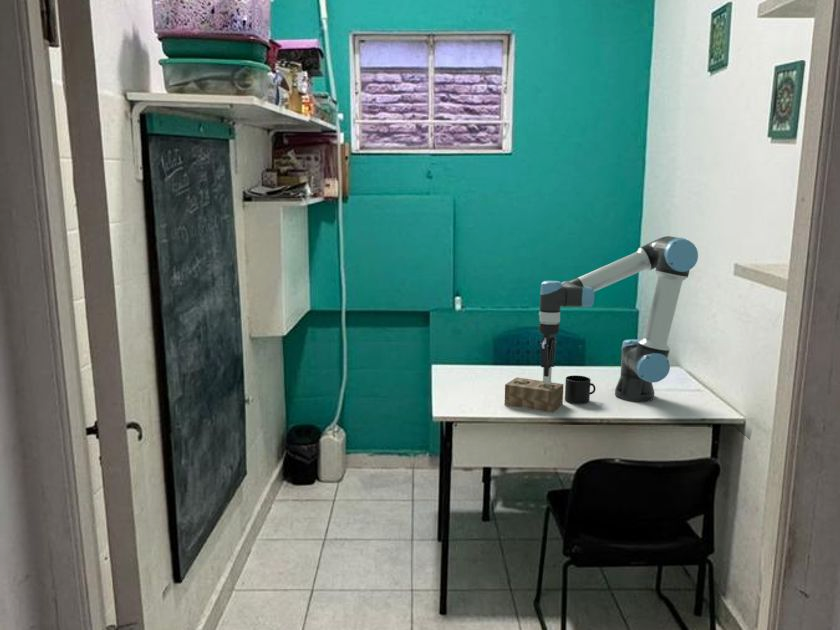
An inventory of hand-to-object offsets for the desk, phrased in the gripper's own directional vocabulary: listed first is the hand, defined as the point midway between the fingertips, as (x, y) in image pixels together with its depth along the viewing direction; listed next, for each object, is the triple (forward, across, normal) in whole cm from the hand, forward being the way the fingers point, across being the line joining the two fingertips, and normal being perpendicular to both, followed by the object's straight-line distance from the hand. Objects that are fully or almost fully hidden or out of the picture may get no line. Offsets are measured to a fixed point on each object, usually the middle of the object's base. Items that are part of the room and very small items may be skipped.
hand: (546, 383), depth 262 cm
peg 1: (+8, 0, -10) cm, 13 cm away
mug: (+9, -14, +9) cm, 19 cm away
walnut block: (+9, 0, -5) cm, 10 cm away
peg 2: (+8, 0, 0) cm, 8 cm away
